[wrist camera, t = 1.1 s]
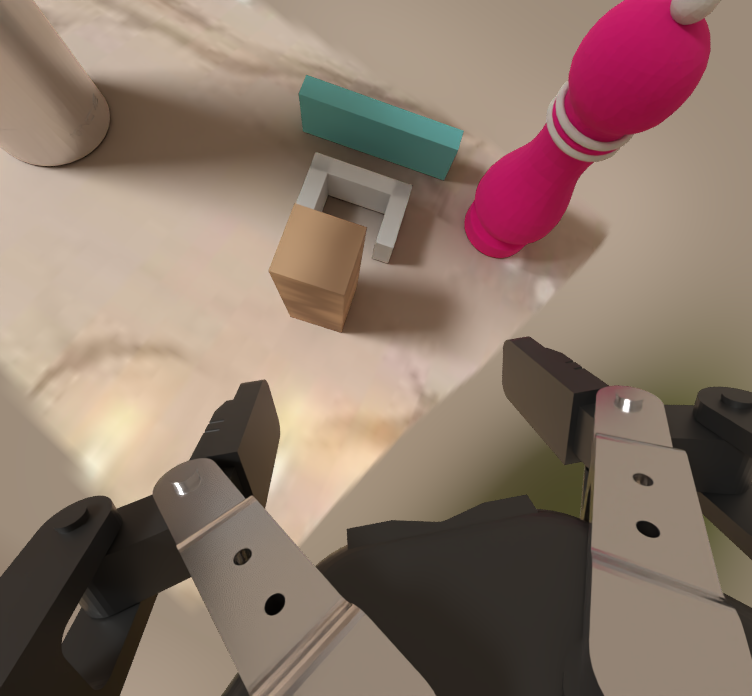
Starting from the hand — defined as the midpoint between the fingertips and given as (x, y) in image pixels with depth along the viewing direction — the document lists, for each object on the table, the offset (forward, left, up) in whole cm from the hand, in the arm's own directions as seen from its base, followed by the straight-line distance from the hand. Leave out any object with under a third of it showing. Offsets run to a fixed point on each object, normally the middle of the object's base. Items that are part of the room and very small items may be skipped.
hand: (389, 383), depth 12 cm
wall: (-5, +23, -18) cm, 30 cm away
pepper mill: (+8, +19, -18) cm, 27 cm away
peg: (-5, +7, -18) cm, 20 cm away
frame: (-5, +15, -18) cm, 24 cm away
